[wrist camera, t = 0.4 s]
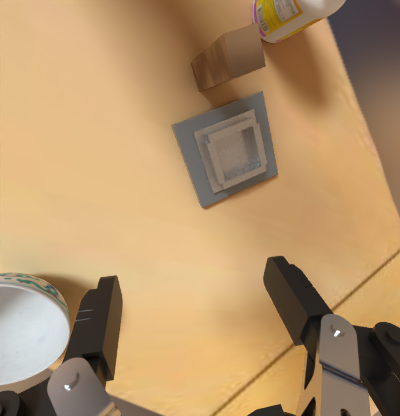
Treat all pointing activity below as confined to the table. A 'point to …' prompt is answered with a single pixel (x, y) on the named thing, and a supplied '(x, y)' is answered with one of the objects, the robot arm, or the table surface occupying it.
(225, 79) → the brown wooden block
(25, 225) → the table surface
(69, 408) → the robot arm
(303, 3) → the supplement bottle
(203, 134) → the open square frame
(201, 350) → the table surface
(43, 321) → the chinaware
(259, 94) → the coaster
